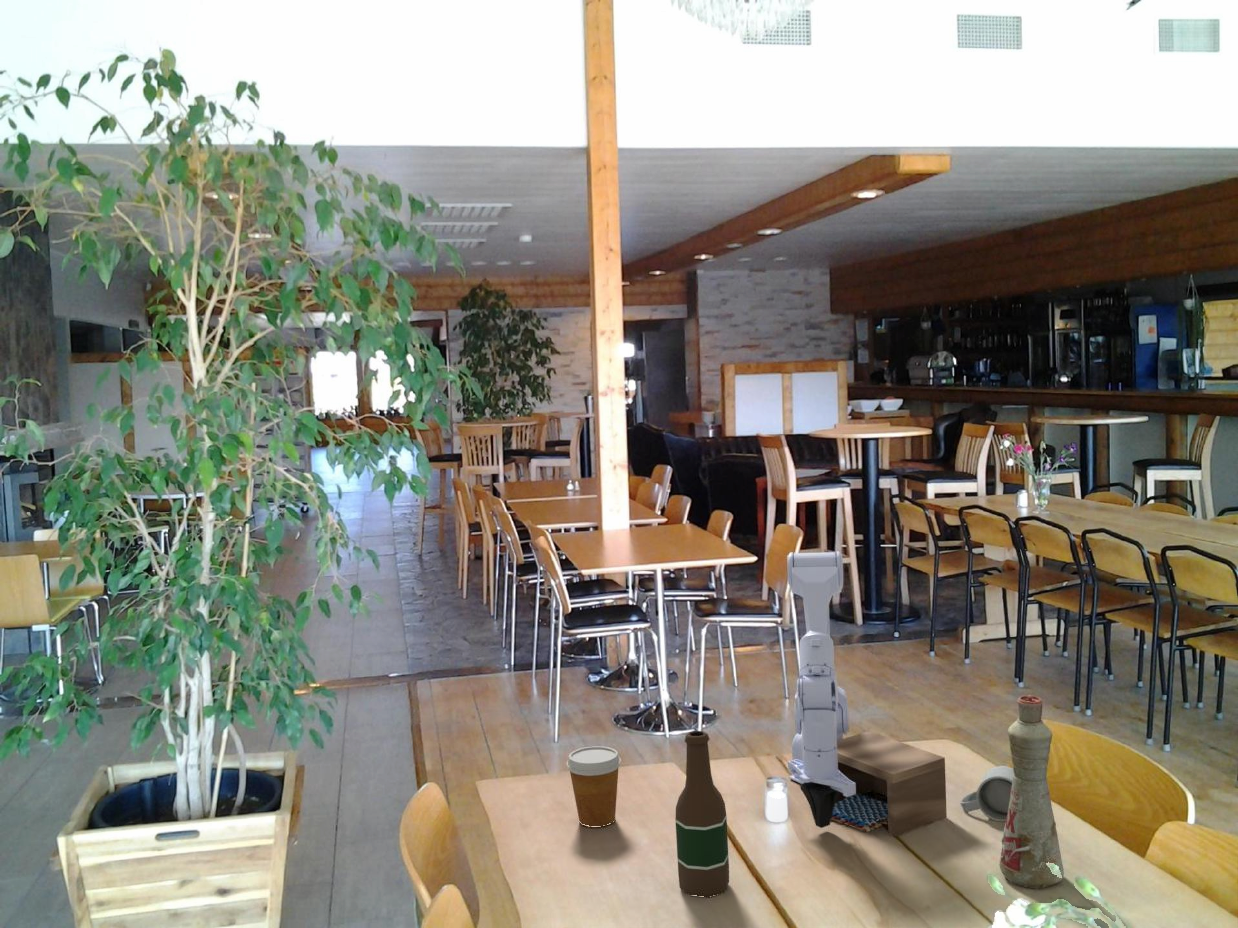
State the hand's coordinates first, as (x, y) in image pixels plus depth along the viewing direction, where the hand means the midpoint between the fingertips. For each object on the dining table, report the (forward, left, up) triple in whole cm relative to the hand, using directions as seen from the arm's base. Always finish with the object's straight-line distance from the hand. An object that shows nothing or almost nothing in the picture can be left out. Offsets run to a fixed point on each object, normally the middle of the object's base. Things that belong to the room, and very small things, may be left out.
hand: (822, 824), depth 193 cm
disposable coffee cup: (-28, -27, -1) cm, 39 cm away
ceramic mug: (+12, +28, -1) cm, 30 cm away
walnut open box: (0, +14, -1) cm, 14 cm away
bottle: (+32, +13, -1) cm, 34 cm away
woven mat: (-1, +10, -2) cm, 10 cm away
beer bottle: (+4, -27, -1) cm, 28 cm away
